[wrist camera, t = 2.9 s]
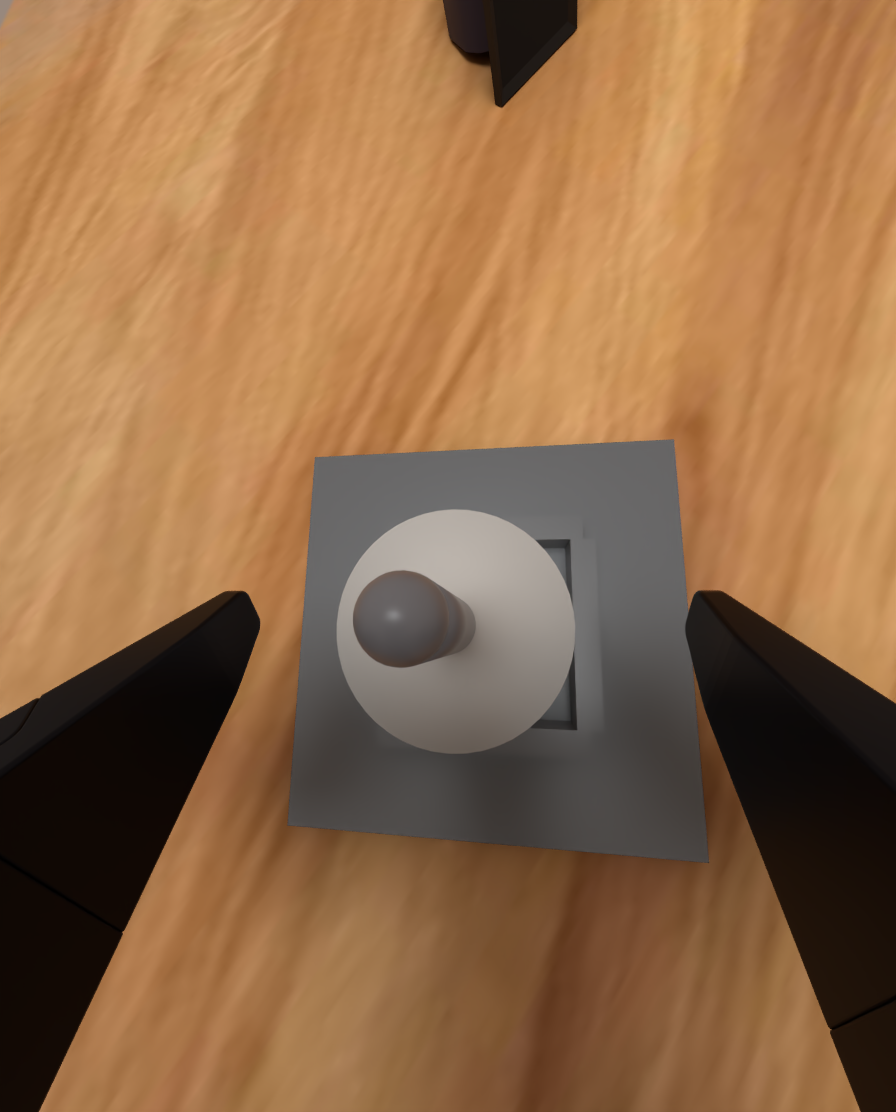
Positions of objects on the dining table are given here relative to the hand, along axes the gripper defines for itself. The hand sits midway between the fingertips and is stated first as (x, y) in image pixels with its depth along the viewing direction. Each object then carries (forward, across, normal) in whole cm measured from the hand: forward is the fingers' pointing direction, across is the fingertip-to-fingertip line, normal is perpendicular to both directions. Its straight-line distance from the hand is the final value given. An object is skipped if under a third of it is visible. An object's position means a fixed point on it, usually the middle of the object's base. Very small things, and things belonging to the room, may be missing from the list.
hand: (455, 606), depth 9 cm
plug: (+5, 0, +5) cm, 7 cm away
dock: (+5, 0, +6) cm, 8 cm away
